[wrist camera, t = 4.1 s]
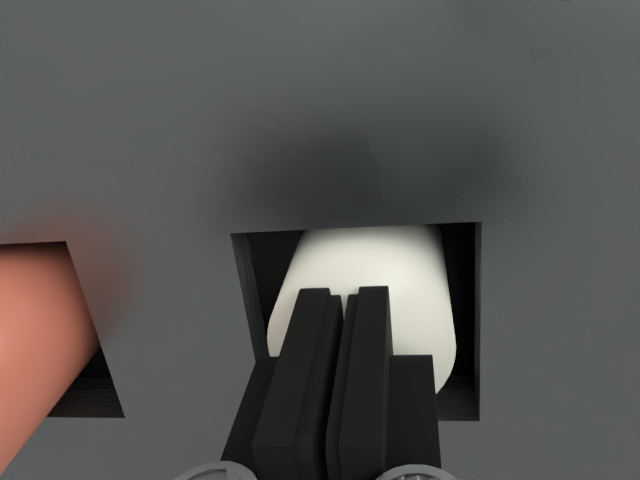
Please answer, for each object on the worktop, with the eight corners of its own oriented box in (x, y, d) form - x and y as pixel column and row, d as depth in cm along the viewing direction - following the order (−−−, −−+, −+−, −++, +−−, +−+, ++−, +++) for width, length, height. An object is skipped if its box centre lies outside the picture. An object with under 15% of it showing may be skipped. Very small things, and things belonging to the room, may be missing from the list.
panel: (622, -90, 13) (780, -124, 7) (573, 399, 19) (640, 575, 13) (-366, 38, 17) (-707, 74, 12) (-152, 397, 23) (-316, 527, 18)
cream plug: (437, 154, 15) (455, 261, 10) (439, 272, 17) (457, 420, 11) (304, 163, 16) (253, 268, 10) (319, 277, 17) (281, 419, 12)
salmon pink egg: (116, 207, 14) (-55, 355, 9) (150, 326, 16) (22, 513, 11) (-12, 213, 15) (-242, 357, 10) (33, 328, 16) (-145, 507, 11)
